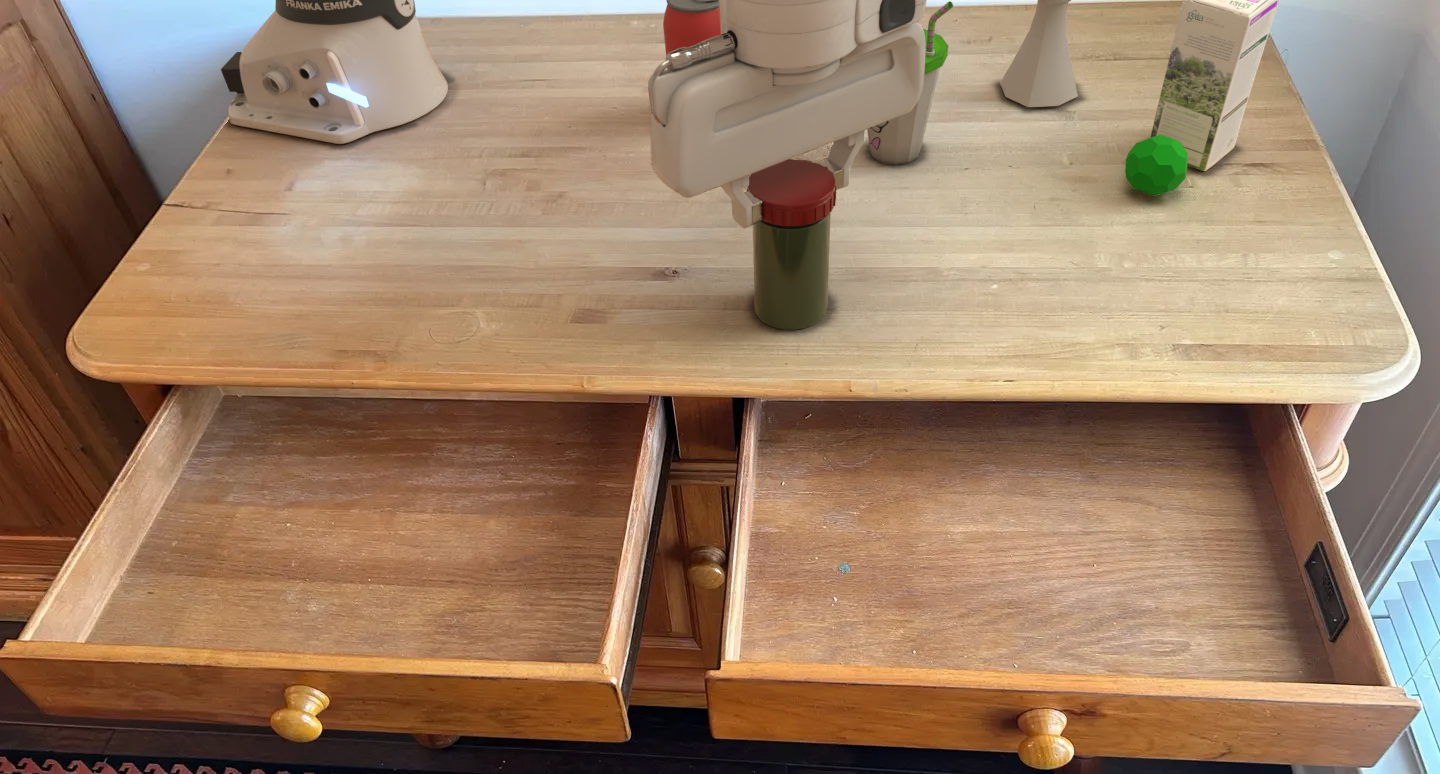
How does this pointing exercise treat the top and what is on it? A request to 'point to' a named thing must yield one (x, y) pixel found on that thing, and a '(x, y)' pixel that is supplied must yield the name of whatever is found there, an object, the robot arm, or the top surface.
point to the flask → (1043, 61)
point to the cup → (906, 132)
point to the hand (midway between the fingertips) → (792, 203)
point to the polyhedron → (1156, 165)
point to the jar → (791, 273)
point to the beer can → (690, 22)
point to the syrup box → (1212, 75)
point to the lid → (794, 192)
